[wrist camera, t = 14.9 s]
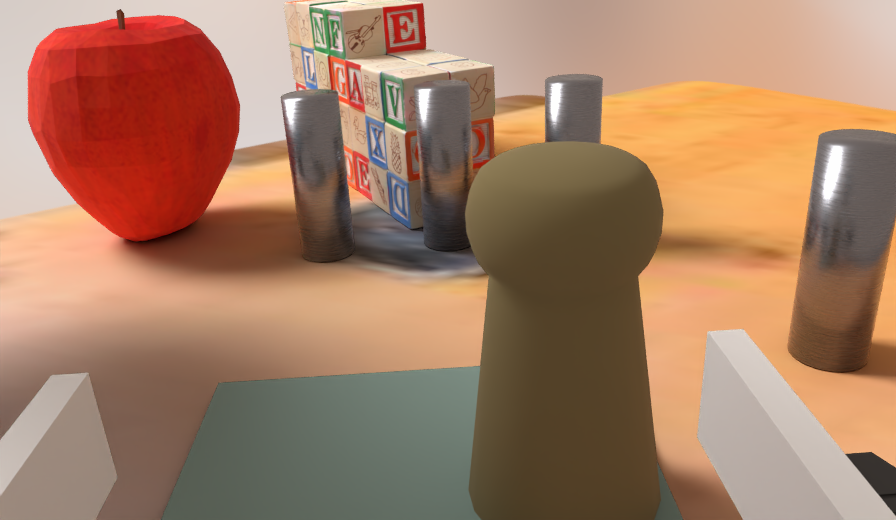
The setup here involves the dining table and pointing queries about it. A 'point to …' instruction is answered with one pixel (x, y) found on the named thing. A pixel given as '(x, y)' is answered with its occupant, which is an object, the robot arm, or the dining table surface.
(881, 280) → the spacer posts
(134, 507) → the dining table surface
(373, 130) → the stack of blocks
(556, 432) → the cork
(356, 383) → the mat
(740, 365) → the robot arm
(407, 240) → the dining table surface
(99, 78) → the apple
